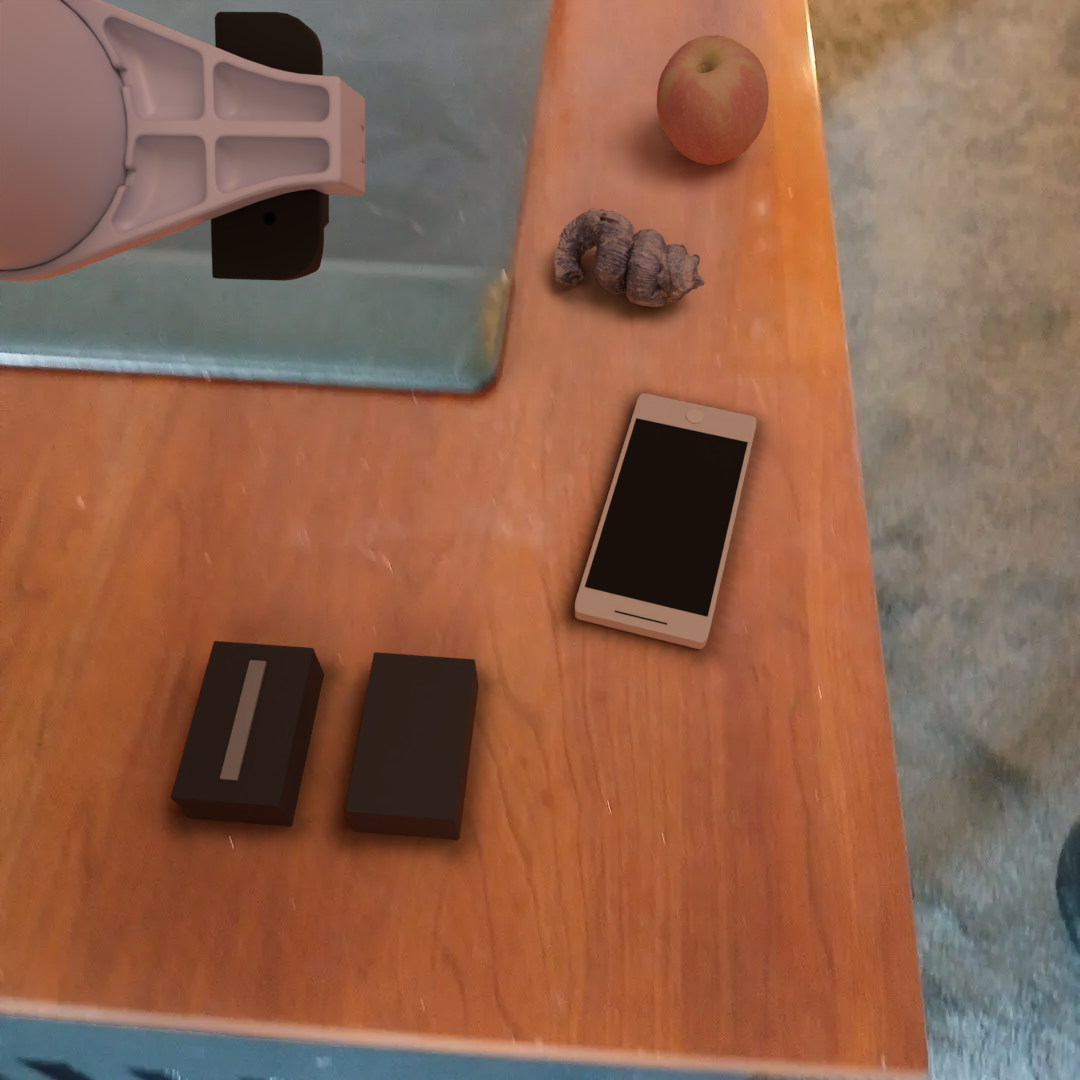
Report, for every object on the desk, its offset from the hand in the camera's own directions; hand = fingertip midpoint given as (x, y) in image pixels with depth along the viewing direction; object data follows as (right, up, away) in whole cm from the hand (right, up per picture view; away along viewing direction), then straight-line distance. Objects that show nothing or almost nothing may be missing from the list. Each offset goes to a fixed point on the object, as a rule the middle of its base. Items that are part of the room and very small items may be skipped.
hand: (186, 187), depth 30 cm
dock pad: (-4, -20, +22) cm, 30 cm away
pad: (+4, -21, +22) cm, 30 cm away
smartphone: (+17, -9, +29) cm, 35 cm away
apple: (+22, +18, +46) cm, 54 cm away
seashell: (+16, +6, +39) cm, 43 cm away
